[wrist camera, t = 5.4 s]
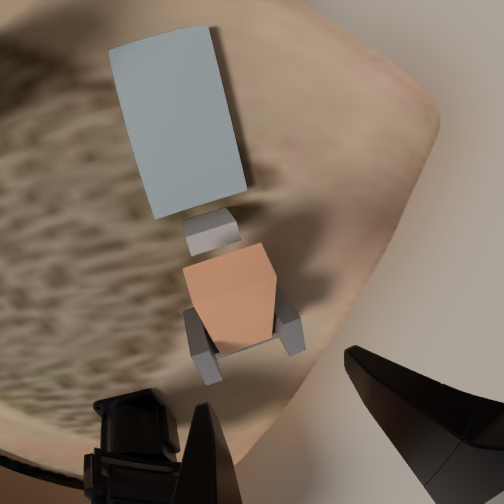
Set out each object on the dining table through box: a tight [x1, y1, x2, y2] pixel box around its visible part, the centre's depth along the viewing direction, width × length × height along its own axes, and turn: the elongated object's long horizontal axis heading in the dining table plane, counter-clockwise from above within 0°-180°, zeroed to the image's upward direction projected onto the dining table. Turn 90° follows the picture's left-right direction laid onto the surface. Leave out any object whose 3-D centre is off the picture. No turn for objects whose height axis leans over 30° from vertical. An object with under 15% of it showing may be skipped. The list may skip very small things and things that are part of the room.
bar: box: [183, 243, 277, 355], centre depth 18 cm, size 4×10×2 cm
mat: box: [108, 24, 248, 220], centre depth 16 cm, size 6×11×1 cm, turn 13°
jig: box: [182, 207, 306, 386], centre depth 20 cm, size 7×10×5 cm
